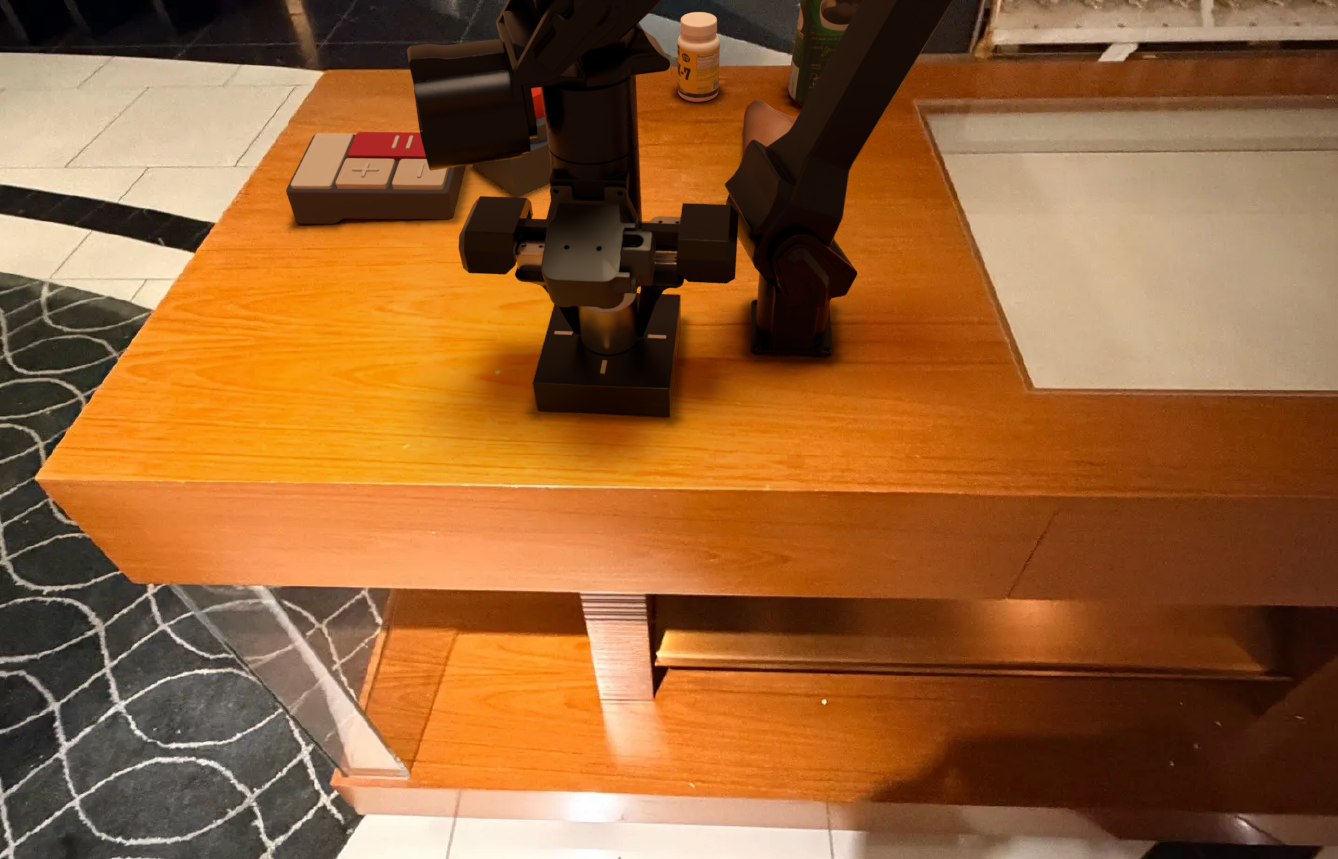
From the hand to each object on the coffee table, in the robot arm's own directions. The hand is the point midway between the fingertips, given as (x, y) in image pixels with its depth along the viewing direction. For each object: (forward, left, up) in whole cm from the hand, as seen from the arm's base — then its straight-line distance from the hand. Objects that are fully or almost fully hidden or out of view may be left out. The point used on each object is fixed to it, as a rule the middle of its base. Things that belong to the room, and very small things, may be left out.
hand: (609, 332), depth 65 cm
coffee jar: (+47, -19, -4) cm, 51 cm away
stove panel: (0, 0, -3) cm, 3 cm away
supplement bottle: (+47, -4, -4) cm, 47 cm away
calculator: (+24, +26, -4) cm, 36 cm away
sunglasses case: (+30, -14, -4) cm, 33 cm away
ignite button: (+30, +12, +2) cm, 32 cm away
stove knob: (0, 0, 0) cm, 0 cm away
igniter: (+30, +12, -3) cm, 32 cm away
